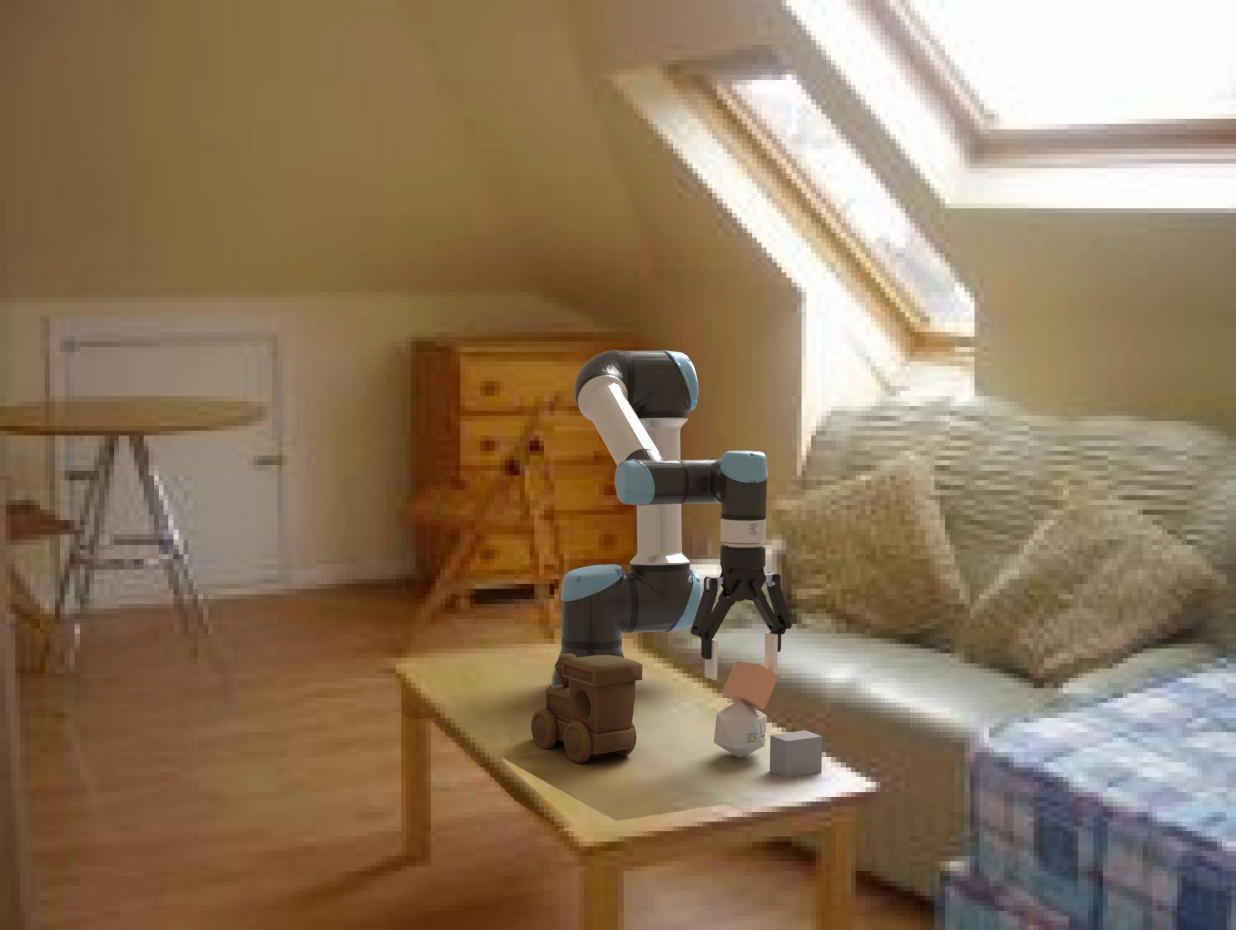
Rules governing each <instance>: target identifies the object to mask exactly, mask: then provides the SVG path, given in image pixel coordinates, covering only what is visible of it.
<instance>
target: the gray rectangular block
mask: <svg viewBox="0 0 1236 930" xmlns="http://www.w3.org/2000/svg"><path fill="white" fill-rule="evenodd" d="M769 736H770V738H769V745H770V746H769V772H770V773H774V774H775V775H778V776H780V777H783V778H784V779H786V778H787V779H788V778H795V777H801V776H807V775H813V774H820V773H822V766H823V764H822V763H823V762H822V759H823V756H822V755H823V736H822V735H819V734H817V733H813V732H811V731H808V730H798V731H790V732H784V733H778V734H777V733H776V734H770V735H769Z"/></svg>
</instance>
